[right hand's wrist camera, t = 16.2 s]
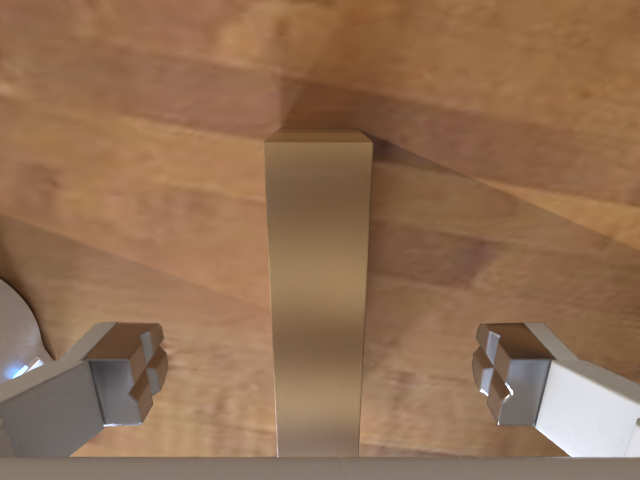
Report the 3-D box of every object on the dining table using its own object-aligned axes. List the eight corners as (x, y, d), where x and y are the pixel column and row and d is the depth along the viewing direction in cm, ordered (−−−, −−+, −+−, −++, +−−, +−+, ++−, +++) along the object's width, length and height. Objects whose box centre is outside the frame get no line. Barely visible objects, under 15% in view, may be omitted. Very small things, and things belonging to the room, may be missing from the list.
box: (279, 128, 31) (262, 141, 22) (357, 128, 31) (373, 142, 22) (288, 396, 41) (278, 486, 31) (348, 396, 41) (357, 486, 31)
